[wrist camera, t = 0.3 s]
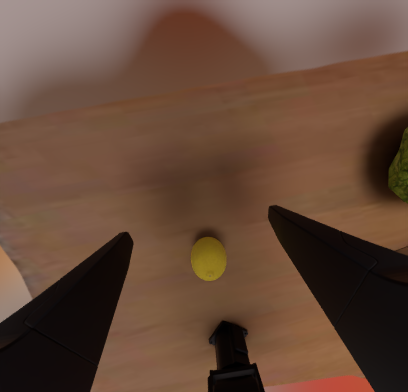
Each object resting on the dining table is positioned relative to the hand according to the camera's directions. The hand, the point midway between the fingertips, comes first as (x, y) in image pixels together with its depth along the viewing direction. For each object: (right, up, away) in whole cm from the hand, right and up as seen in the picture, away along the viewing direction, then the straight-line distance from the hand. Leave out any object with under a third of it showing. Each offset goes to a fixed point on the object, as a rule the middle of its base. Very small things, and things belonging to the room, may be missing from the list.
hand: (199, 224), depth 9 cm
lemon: (+1, -7, +18) cm, 19 cm away
